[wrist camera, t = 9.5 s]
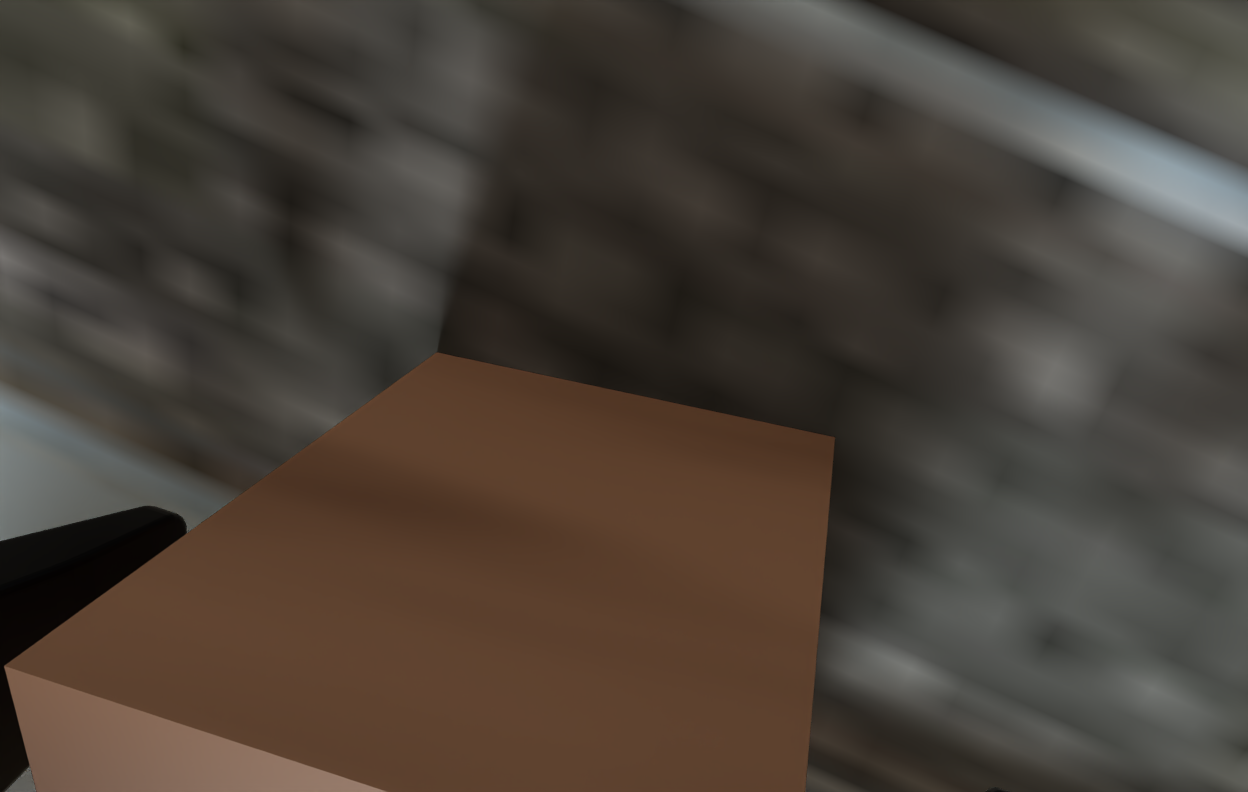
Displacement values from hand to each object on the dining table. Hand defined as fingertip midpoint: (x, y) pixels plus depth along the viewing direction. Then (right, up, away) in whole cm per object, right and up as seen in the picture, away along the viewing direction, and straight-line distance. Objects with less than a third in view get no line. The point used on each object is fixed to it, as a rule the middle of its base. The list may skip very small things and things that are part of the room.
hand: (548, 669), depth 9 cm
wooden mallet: (0, -3, +4) cm, 5 cm away
